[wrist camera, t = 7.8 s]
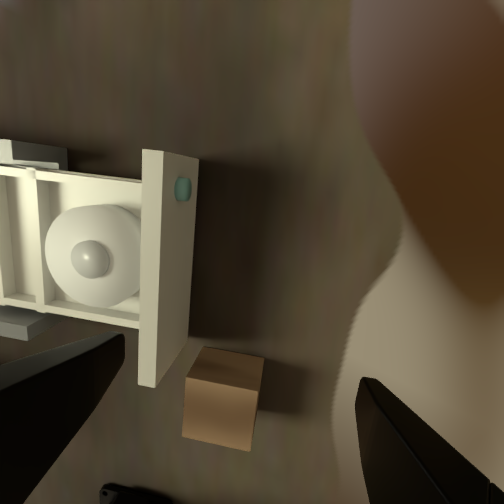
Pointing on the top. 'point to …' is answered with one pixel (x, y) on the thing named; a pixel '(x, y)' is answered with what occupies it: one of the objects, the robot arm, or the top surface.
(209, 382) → the pedestal
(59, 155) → the housing
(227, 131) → the top surface
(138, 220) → the disc
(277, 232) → the top surface
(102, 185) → the tray
